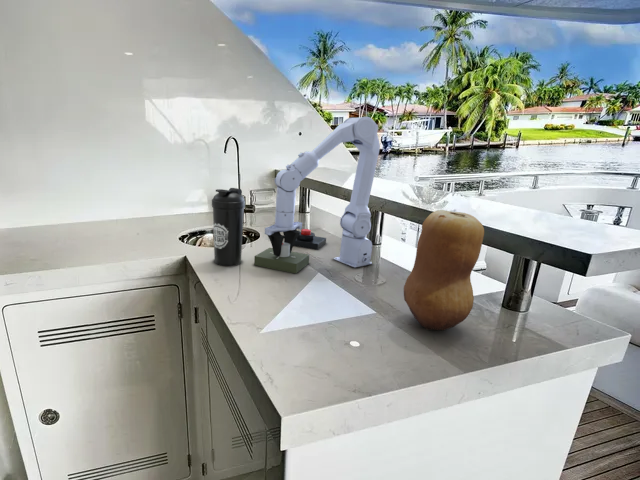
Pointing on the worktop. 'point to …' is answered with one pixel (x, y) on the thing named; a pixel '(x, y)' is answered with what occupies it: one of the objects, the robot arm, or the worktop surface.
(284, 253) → the knob
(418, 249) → the butternut squash
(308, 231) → the button
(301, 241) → the button housing
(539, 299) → the worktop surface
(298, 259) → the dial panel
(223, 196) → the water bottle
